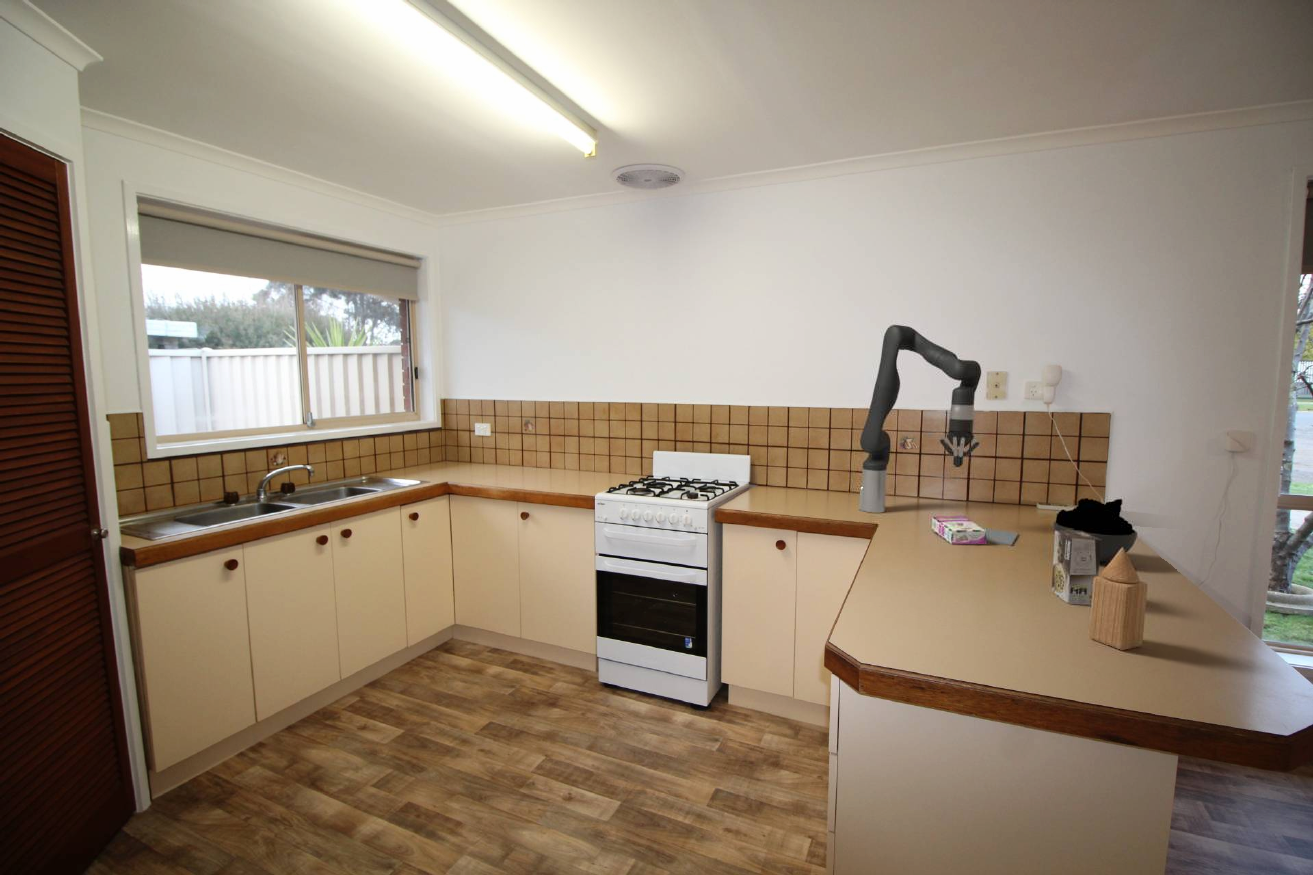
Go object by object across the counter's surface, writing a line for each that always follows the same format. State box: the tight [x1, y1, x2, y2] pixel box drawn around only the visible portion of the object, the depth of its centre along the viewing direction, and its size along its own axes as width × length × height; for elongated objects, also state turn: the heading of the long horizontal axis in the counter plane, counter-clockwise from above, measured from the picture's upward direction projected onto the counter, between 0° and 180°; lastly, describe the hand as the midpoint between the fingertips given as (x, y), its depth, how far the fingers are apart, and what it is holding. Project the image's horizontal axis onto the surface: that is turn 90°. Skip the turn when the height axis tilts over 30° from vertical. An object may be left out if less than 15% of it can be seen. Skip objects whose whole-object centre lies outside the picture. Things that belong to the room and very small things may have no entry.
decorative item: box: [1088, 547, 1148, 651], centre depth 120 cm, size 7×7×20 cm
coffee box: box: [1051, 530, 1101, 606], centre depth 144 cm, size 9×6×16 cm
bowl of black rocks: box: [1053, 497, 1138, 563], centre depth 176 cm, size 20×20×19 cm
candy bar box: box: [931, 515, 987, 545], centre depth 200 cm, size 11×5×16 cm
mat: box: [982, 527, 1019, 547], centre depth 204 cm, size 16×18×1 cm
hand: (957, 466), depth 208 cm, fingers closed
